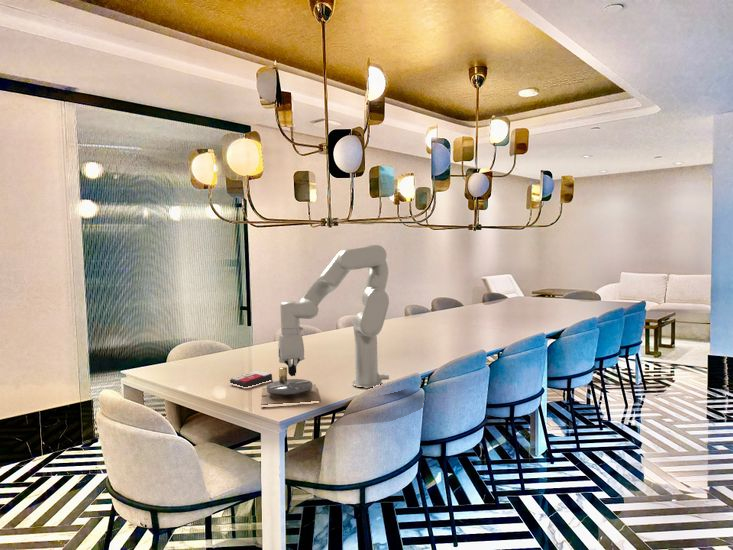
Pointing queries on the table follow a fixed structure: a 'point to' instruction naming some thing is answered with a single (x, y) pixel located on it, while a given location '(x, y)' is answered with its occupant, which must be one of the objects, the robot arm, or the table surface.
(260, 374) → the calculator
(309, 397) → the valve base
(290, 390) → the handwheel
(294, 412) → the table surface
